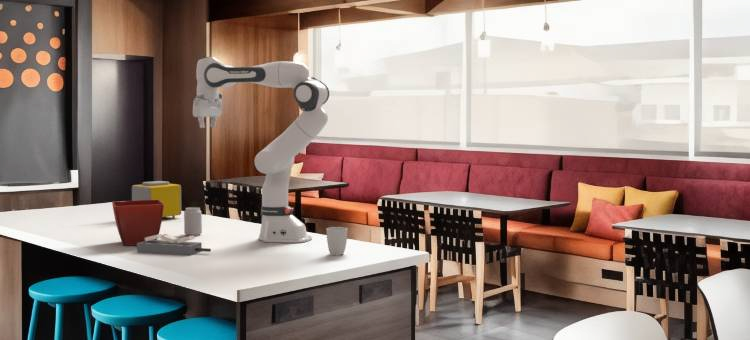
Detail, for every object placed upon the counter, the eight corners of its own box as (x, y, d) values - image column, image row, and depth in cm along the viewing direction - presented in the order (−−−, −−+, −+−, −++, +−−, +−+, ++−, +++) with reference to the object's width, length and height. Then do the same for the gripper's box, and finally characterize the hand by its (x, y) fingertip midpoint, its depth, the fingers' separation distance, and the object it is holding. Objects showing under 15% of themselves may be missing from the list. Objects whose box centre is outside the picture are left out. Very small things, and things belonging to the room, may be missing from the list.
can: (197, 236, 371) (197, 209, 370) (181, 236, 373) (181, 208, 372) (204, 234, 378) (204, 207, 377) (188, 233, 380) (188, 206, 379)
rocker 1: (161, 237, 335) (161, 233, 335) (157, 238, 332) (156, 234, 332) (149, 240, 337) (148, 236, 337) (145, 241, 334) (144, 237, 334)
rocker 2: (177, 241, 333) (177, 238, 333) (172, 243, 330) (173, 239, 330) (164, 237, 335) (165, 233, 335) (160, 238, 332) (161, 235, 332)
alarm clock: (163, 215, 440) (163, 179, 439) (182, 218, 430) (182, 181, 429) (130, 219, 426) (129, 182, 424) (149, 222, 415) (148, 184, 414)
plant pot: (112, 240, 359) (111, 200, 358) (159, 238, 366) (158, 199, 365) (116, 248, 342) (115, 206, 340) (165, 245, 348) (164, 204, 347)
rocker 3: (194, 238, 331) (193, 235, 331) (190, 240, 328) (189, 236, 328) (181, 242, 333) (180, 238, 333) (177, 243, 330) (176, 239, 330)
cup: (336, 251, 334) (336, 226, 333) (351, 254, 329) (351, 228, 328) (322, 254, 328) (321, 228, 327) (337, 256, 322) (337, 230, 322)
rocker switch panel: (215, 252, 332) (215, 242, 332) (204, 256, 324) (204, 246, 323) (149, 248, 340) (149, 239, 340) (137, 252, 332) (136, 242, 332)
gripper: (202, 94, 356) (202, 128, 357) (224, 95, 376) (225, 126, 377) (188, 95, 358) (189, 128, 359) (211, 95, 378) (212, 126, 379)
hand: (207, 127), depth 368 cm, fingers open, 8 cm apart
